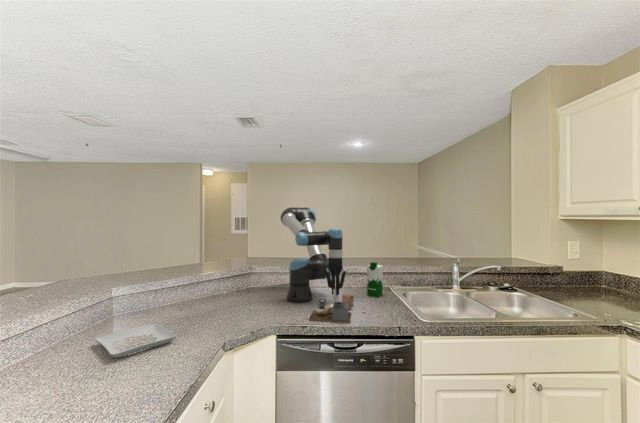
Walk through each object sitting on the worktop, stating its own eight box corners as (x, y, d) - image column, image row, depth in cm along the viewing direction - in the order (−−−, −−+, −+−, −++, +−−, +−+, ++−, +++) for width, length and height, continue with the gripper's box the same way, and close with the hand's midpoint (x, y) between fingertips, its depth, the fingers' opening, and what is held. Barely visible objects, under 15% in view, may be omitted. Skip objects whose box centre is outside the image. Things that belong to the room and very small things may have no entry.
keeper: (308, 320, 133) (308, 304, 133) (313, 312, 146) (313, 297, 146) (350, 323, 131) (350, 306, 131) (351, 313, 143) (351, 298, 143)
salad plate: (155, 329, 124) (155, 321, 124) (177, 343, 110) (178, 334, 110) (93, 346, 107) (93, 337, 107) (111, 365, 94) (111, 355, 94)
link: (320, 315, 137) (320, 302, 137) (314, 312, 141) (314, 300, 142) (354, 307, 150) (354, 295, 150) (347, 304, 154) (347, 293, 154)
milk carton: (365, 295, 176) (365, 262, 176) (371, 292, 184) (371, 260, 184) (379, 297, 171) (379, 263, 172) (384, 294, 179) (384, 261, 179)
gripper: (321, 257, 156) (321, 301, 156) (344, 258, 151) (344, 304, 150) (327, 255, 163) (327, 297, 163) (349, 256, 157) (349, 300, 157)
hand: (335, 300), depth 156 cm, fingers closed
